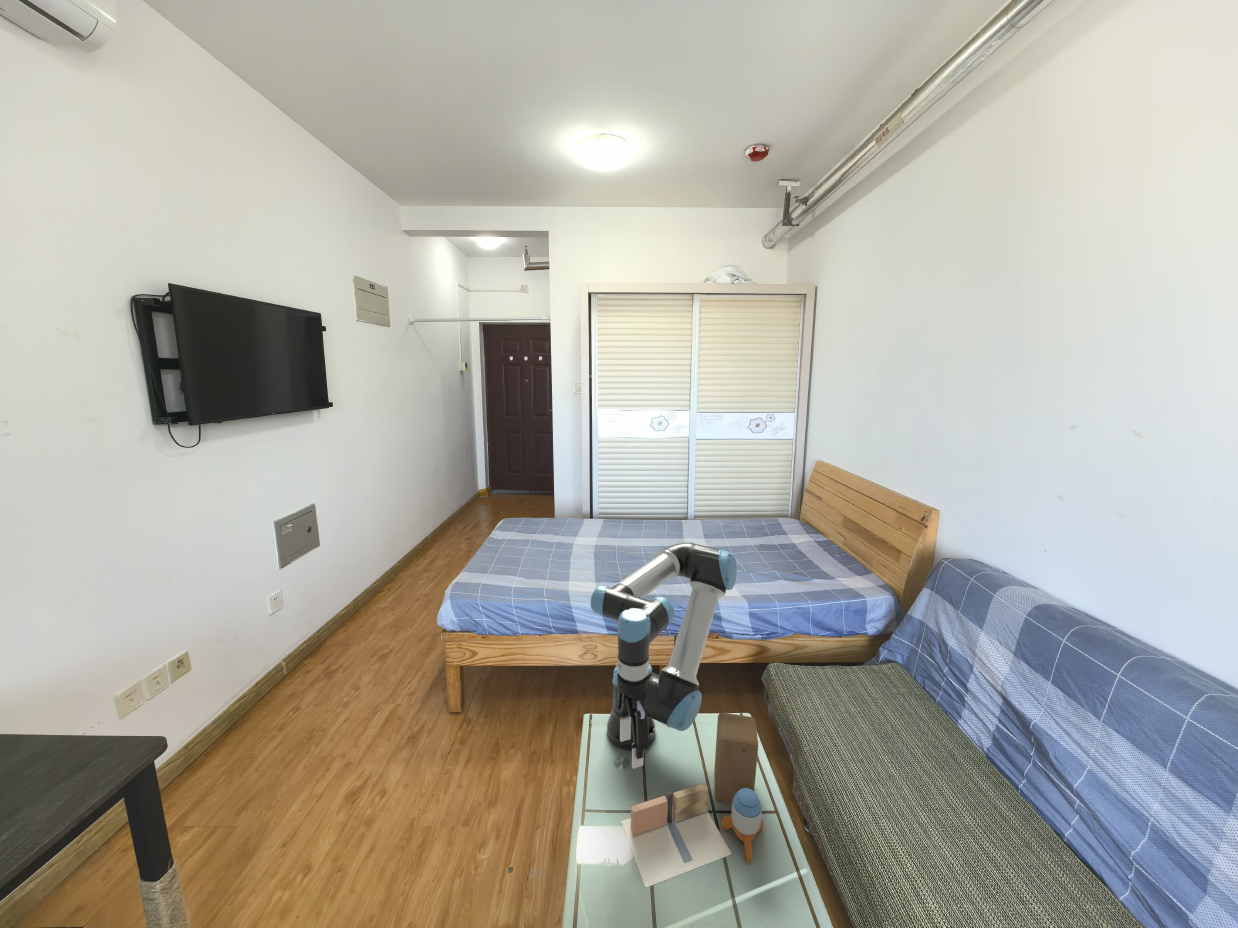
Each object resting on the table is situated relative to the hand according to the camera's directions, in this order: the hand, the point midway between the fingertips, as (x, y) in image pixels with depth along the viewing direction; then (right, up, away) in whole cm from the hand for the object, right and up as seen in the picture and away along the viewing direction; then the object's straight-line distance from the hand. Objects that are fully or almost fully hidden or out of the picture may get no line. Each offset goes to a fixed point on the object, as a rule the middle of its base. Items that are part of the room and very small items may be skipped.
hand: (631, 751), depth 117 cm
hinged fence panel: (+4, -17, -2) cm, 18 cm away
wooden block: (+28, -16, +9) cm, 34 cm away
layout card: (+10, -19, -4) cm, 22 cm away
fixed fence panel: (+14, -17, +1) cm, 22 cm away
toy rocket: (+28, -19, -4) cm, 35 cm away
